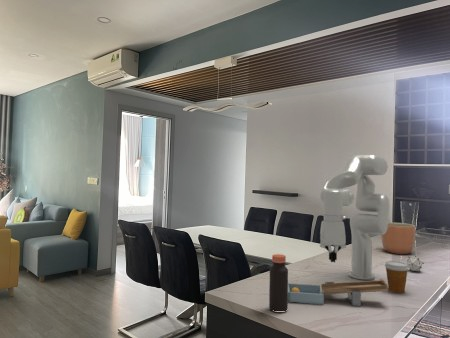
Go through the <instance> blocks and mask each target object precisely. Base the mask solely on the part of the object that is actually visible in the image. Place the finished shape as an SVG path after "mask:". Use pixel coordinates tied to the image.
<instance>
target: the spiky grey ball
mask: <svg viewBox="0 0 450 338" xmlns="http://www.w3.org/2000/svg"><path fill="white" fill-rule="evenodd" d="M406 264H407V265H408V267H409V271H412V272H421V269H423V267H422V266H423V265H424V264H425V262H422V261H421V259H420V258H419V257H417V256H416V255H415V256H414V257H413V256H412V257H410V256H408V259H407V260H406Z"/></svg>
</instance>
